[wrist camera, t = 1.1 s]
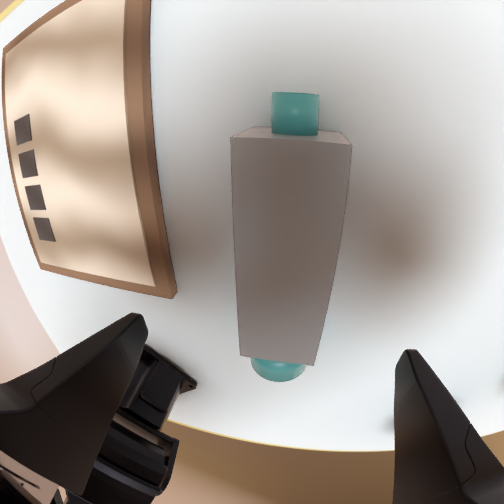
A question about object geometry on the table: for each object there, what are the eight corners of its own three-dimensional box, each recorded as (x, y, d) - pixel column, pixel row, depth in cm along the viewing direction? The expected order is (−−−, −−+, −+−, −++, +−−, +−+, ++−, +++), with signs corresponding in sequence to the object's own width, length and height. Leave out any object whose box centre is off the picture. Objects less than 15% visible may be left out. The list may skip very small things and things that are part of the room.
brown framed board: (177, 291, 18) (170, 302, 17) (45, 264, 21) (38, 270, 20) (153, -35, 8) (143, -41, 7) (10, 47, 10) (0, 48, 9)
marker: (312, 340, 18) (307, 388, 15) (255, 332, 19) (241, 378, 16) (342, 98, 11) (354, 97, 7) (254, 94, 11) (229, 91, 8)
